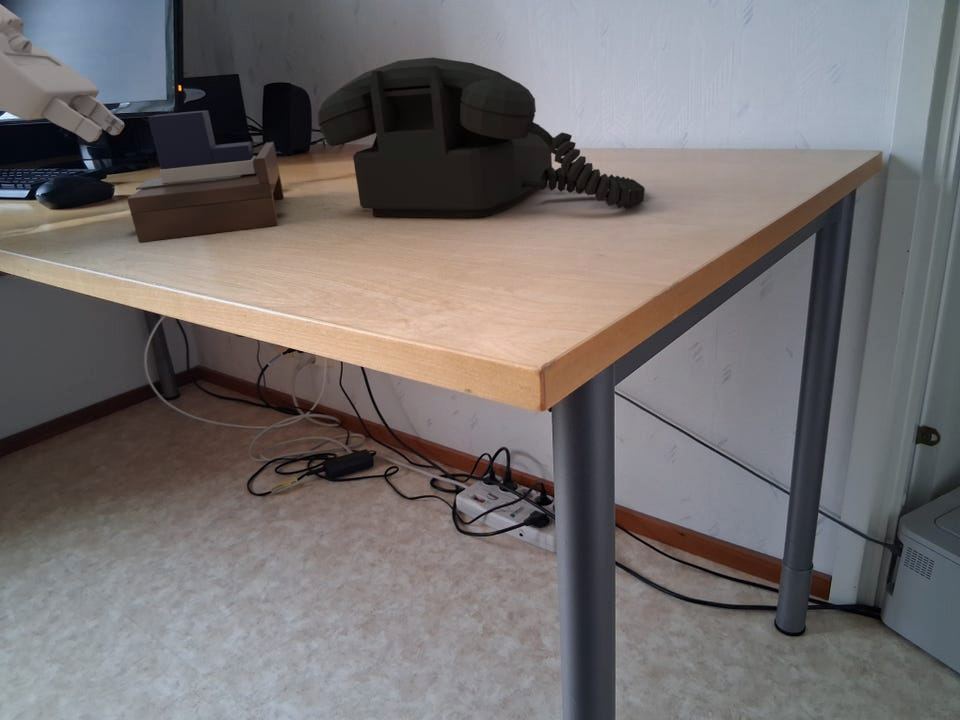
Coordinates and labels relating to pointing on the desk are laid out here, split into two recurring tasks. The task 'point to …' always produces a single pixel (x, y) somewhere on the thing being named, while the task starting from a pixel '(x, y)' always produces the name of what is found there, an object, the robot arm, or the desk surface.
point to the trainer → (196, 149)
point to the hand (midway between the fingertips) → (109, 133)
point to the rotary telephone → (455, 142)
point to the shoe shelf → (208, 203)
